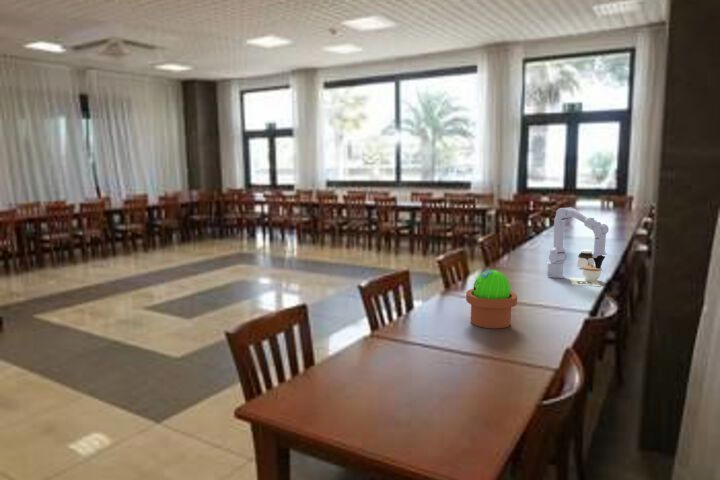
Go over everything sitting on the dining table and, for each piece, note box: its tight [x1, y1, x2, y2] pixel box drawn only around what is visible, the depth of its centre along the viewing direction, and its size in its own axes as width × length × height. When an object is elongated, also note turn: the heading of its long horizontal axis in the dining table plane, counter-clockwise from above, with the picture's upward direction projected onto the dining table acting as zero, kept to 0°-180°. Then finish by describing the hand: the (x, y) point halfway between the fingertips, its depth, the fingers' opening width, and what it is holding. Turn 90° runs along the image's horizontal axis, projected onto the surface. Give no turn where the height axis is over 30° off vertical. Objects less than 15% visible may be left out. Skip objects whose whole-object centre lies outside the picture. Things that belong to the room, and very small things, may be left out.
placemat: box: [568, 277, 602, 287], centre depth 317 cm, size 15×19×1 cm
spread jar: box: [576, 249, 595, 270], centre depth 358 cm, size 12×11×12 cm
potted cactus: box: [465, 268, 518, 330], centre depth 237 cm, size 22×22×25 cm
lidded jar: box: [581, 265, 602, 281], centre depth 321 cm, size 11×11×9 cm
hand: (598, 268), depth 306 cm, fingers closed
